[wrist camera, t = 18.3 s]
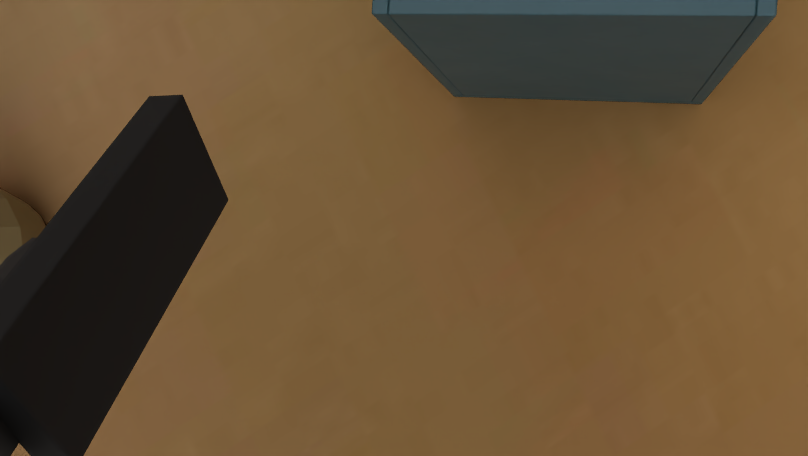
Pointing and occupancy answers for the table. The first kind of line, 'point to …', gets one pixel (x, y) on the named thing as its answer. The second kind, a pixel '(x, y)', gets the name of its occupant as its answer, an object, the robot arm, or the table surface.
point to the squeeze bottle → (16, 224)
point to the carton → (578, 45)
